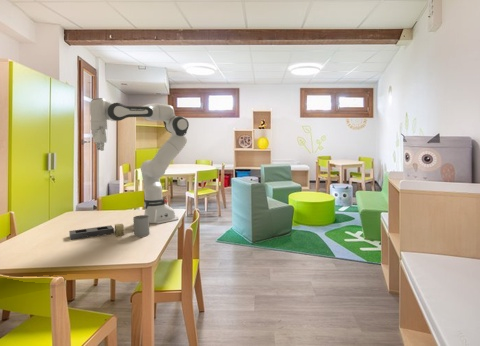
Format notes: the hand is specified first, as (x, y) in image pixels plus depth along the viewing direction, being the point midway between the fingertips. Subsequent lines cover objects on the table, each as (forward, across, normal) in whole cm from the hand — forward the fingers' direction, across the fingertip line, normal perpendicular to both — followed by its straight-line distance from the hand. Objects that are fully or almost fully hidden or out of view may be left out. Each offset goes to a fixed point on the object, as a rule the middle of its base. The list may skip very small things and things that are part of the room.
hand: (100, 150), depth 199 cm
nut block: (+46, -21, -3) cm, 51 cm away
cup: (+47, -27, -14) cm, 56 cm away
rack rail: (+46, -12, +9) cm, 49 cm away
